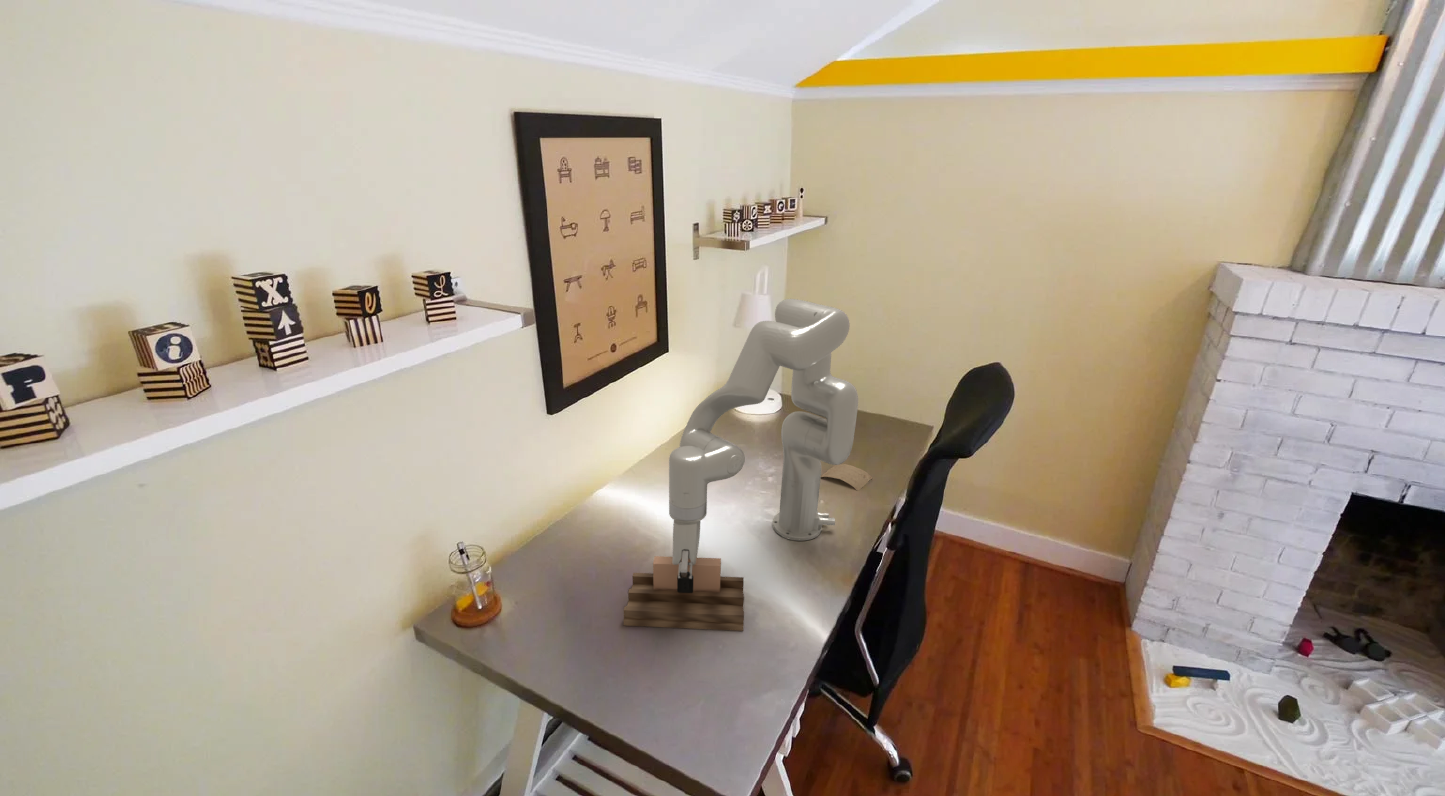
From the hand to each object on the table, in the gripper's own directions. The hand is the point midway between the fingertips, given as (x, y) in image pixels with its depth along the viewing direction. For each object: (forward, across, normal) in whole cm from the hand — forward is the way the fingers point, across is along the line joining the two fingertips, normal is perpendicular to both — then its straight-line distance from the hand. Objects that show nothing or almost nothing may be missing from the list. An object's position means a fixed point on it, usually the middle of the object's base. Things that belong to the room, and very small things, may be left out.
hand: (687, 576), depth 124 cm
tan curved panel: (+6, -55, +43) cm, 70 cm away
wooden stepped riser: (+6, +3, 0) cm, 6 cm away
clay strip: (+4, 0, 0) cm, 4 cm away
